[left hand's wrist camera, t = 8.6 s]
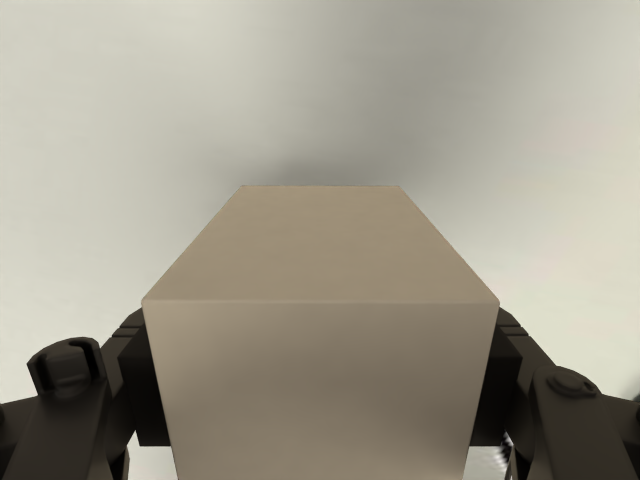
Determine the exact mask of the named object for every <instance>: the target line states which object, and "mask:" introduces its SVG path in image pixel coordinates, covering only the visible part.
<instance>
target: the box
mask: <svg viewBox="0 0 640 480" xmlns="http://www.w3.org/2000/svg"><path fill="white" fill-rule="evenodd" d="M141 305H142V309H143V314H144V319H145V324H146V328H147V333H148V338H149V343H150V348H151V352H152V357H153V362H154V367H155V371H156V376H157V381H158V386H159V391H160V395H161V400H162V405H163V410H164V414H165V419H166V424H167V429H168V434H169V438H170V443H171V448H172V453H173V457H174V462H175V467H176V472H177V477H178V480H462V477H463V473H464V468H465V463H466V459H467V454H468V449H469V445H470V440H471V436H472V431H473V426H474V422H475V417H476V412H477V408H478V403H479V398H480V394H481V389H482V384H483V380H484V375H485V370H486V366H487V361H488V356H489V352H490V347H491V342H492V338H493V333H494V328H495V324H496V319H497V314H498V310H499V305H500V302H499V299H498V298H497V297H496V296H495V295H494V294H493V293H492V291H491V290H490V289H489V288H488V287H487V286H486V285H485V284H484V282H483V281H482V280H481V279H480V278H479V277H478V276H477V274H476V273H475V272H474V271H473V270H472V269H471V268H470V266H469V265H468V264H467V263H466V262H465V261H464V260H463V258H462V257H461V256H460V255H459V254H458V253H457V252H456V250H455V249H454V248H453V247H452V246H451V245H450V244H449V242H448V241H447V240H446V239H445V238H444V237H443V236H442V234H441V233H440V232H439V231H438V230H437V229H436V228H435V226H434V225H433V224H432V223H431V222H430V221H429V220H428V219H427V217H426V216H425V215H424V214H423V213H422V212H421V211H420V209H419V208H418V207H417V206H416V205H415V204H414V203H413V201H412V200H411V199H410V198H409V197H408V196H407V195H406V193H405V192H404V191H403V190H402V189H401V188H400V187H399V186H241V187H240V188H239V189H238V191H237V192H236V193H235V194H234V195H233V196H232V197H231V198H230V200H229V201H228V202H227V203H226V204H225V205H224V206H223V208H222V209H221V210H220V211H219V212H218V213H217V214H216V216H215V217H214V218H213V219H212V220H211V221H210V222H209V224H208V225H207V226H206V227H205V228H204V229H203V230H202V232H201V233H200V234H199V235H198V236H197V237H196V238H195V240H194V241H193V242H192V243H191V244H190V245H189V246H188V248H187V249H186V250H185V251H184V252H183V253H182V254H181V255H180V257H179V258H178V259H177V260H176V261H175V262H174V263H173V265H172V266H171V267H170V268H169V269H168V270H167V271H166V273H165V274H164V275H163V276H162V277H161V278H160V279H159V281H158V282H157V283H156V284H155V285H154V286H153V287H152V289H151V290H150V291H149V292H148V293H147V294H146V295H145V297H144V298H143V299H142V301H141Z"/></svg>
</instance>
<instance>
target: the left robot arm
mask: <svg viewBox="0 0 640 480" xmlns="http://www.w3.org/2000/svg"><path fill="white" fill-rule="evenodd" d="M27 367H28V369H29V372H30V375H31V377H32V380H33V383H34V385H35V388H36V391H37V393H38V396H35V397H31V398H26V399H22V400H17V401H13V402H8V403H4V404H0V480H128V472H129V461H130V458H129V452H128V449H127V444H128V442H129V441H130V439H131V437H132V435H133V433H134V431H135V430H136V433H137V437H138V441H139V445H140V446H171V443H170V438H169V434H168V429H167V424H166V419H165V414H164V410H163V405H162V400H161V395H160V391H159V386H158V381H157V376H156V371H155V367H154V362H153V357H152V352H151V348H150V343H149V338H148V333H147V328H146V324H145V319H144V314H143V309H142V308H140V309H138V310H137V311H135V312H134V313H132V314H131V315H129V316H128V317H127V318H126V319H125V321H124V322H123V323H122V324H121V325H120V328H118V329H117V330H116V331H115V332H114V333H113V334H112V337H111V338H109V339H108V340H107V341H106V342H105V344H104V345H103V346H102V347H101V348H100V347H99V343H98V342H97V341H96V340H94V339H93V338H88V337H76V338H69V339H66V340H62V341H59V342H56V343H54V344H52V345H49V346H47V347H45V348H43V349H42V350H41V351H39V352H38V353H36V354H35V355H33V356H32V358H31V359H30V360H29V361H28V363H27ZM504 430H506V431H507V433H508V435H509V437H510V439H511V440H512V442H513V444H514V445H513V449H512V452H511V456H510V459H509V463H508V467H507V470H506V474H505V480H510V479H511V475H512V480H640V403H639V402H635V401H630V400H626V399H621V398H617V397H612V396H607V395H604V394H602V393H601V392H600V390H599V389H598V387H597V386H596V385H595V384H594V383H593V382H591V381H590V380H589V379H588V378H586V377H585V376H583V375H581V374H579V373H577V372H575V371H573V370H570V369H567V368H564V367H561V366H556V365H555V364H554V363H553V361H552V360H551V359H550V358H549V357H548V356H547V355H546V353H545V352H544V351H543V350H542V349H541V348H540V347H539V345H538V344H537V343H536V342H535V341H534V340H533V339H532V337H531V336H529V335H528V333H527V332H526V331H525V329H524V328H523V327H521V325H520V324H519V323H518V321H517V320H516V319H515V318H514V317H513V316H512V315H511V314H510V313H508V312H507V311H505V310H504V309H502V308H500V307H499V310H498V314H497V319H496V324H495V328H494V333H493V338H492V342H491V347H490V352H489V356H488V361H487V366H486V370H485V375H484V380H483V384H482V389H481V394H480V398H479V403H478V408H477V412H476V417H475V422H474V426H473V431H472V436H471V440H470V445H469V446H500V445H501V441H502V437H503V433H504Z"/></svg>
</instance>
